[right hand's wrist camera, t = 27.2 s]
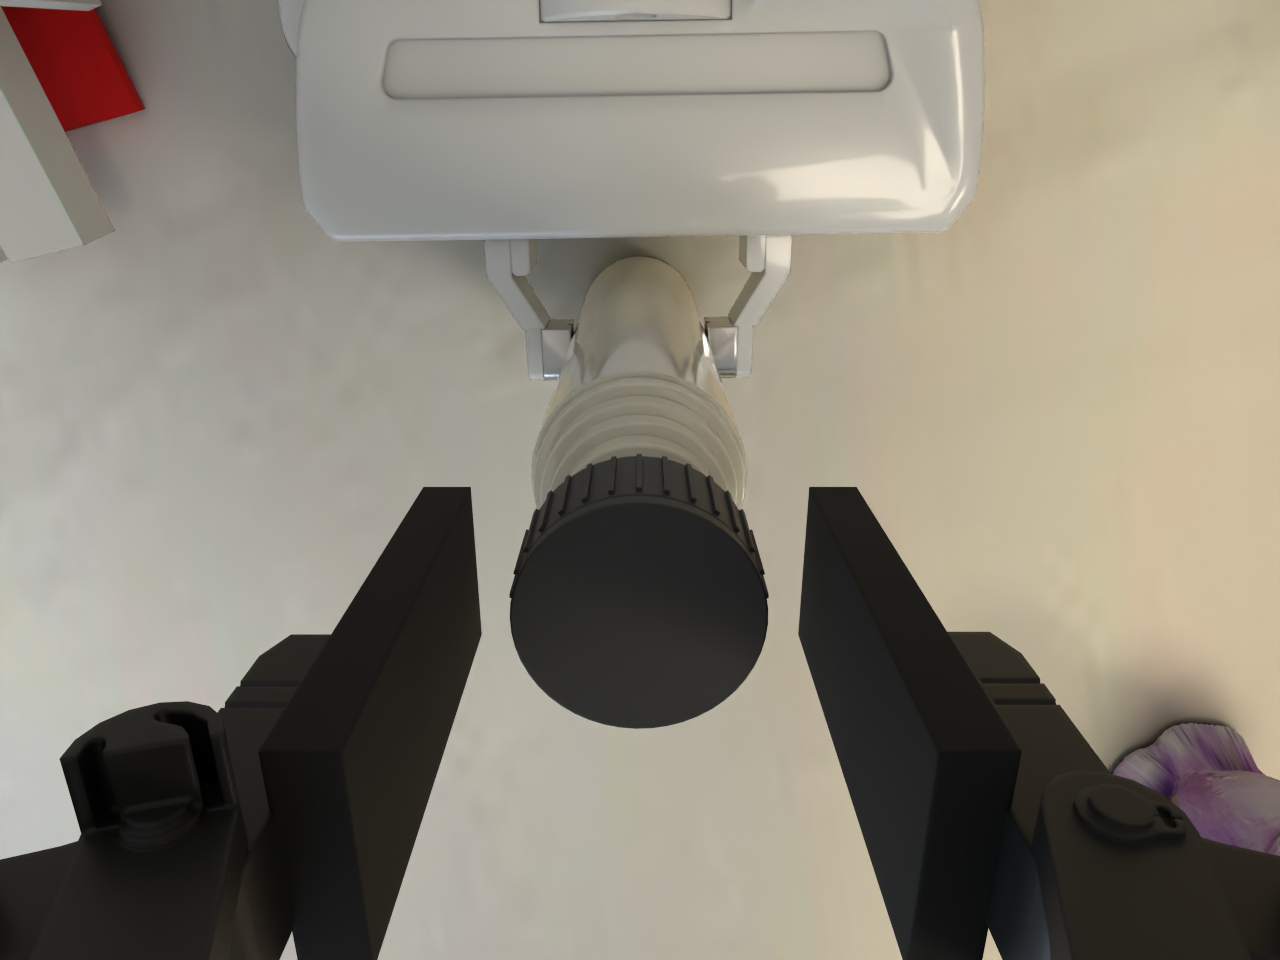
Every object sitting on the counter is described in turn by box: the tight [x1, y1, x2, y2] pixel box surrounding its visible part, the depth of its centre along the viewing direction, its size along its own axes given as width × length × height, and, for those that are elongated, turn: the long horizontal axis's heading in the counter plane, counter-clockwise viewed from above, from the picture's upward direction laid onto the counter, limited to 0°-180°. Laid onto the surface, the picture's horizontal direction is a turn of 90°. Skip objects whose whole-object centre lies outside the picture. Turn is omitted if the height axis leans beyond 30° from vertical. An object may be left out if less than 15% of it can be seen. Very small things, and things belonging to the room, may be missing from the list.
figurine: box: [1113, 723, 1280, 856], centre depth 37 cm, size 9×10×15 cm
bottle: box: [532, 256, 747, 510], centre depth 24 cm, size 4×4×24 cm
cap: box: [510, 454, 769, 729], centre depth 14 cm, size 4×4×2 cm
